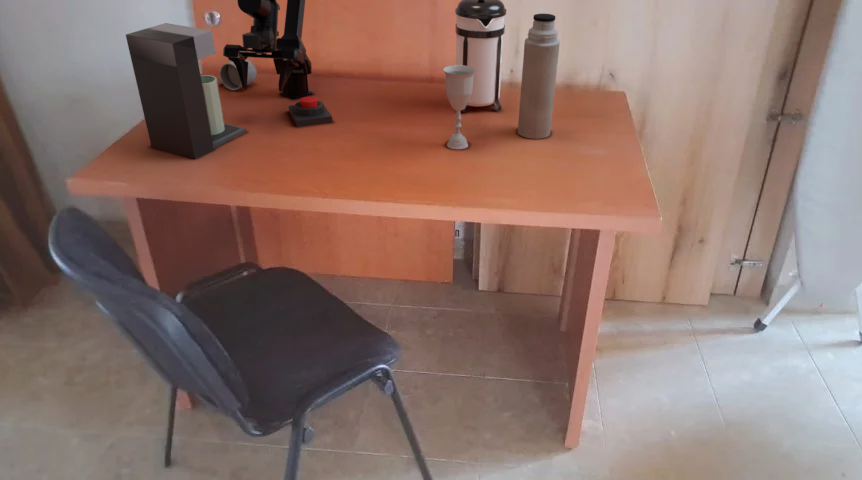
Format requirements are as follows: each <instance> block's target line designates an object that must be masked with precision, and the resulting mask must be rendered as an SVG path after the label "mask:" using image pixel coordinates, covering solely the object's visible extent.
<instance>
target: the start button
mask: <svg viewBox="0 0 862 480" xmlns="http://www.w3.org/2000/svg"><path fill="white" fill-rule="evenodd" d="M317 100H318V98H317V97H316V96H312V95H311V96H310V95H307V96H304V97H301V98H299V102H300V106H301V107H303V108H314V107H317V106H318V101H319V100H318V101H317Z"/></svg>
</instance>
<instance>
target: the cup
mask: <svg viewBox="0 0 862 480" xmlns="http://www.w3.org/2000/svg"><path fill="white" fill-rule="evenodd" d="M200 75H201V74H200ZM201 81H202V87H203V92H204V98H205V103H206V109H207V115H208V120H209V126H210V132H211V135H216V134H219V133H221V132H223V131H224V130H225V125H224V123H225V119H224V113H223V107H222V102H221V95H220V89H219V83H218V82H219V81H218V77H216V76H215V75H211V74H210V75H209V74H202V75H201Z"/></svg>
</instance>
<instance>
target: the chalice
mask: <svg viewBox="0 0 862 480" xmlns="http://www.w3.org/2000/svg"><path fill="white" fill-rule="evenodd" d="M442 71H443V72H444V74H445V81H444V83H445V85H444V86H445V87H444V91H445V94H446V98H447V100H448V102H449V104H450V106H451V108H452V110H454V111H455V113H456V114H455V117H454V119H455V124H454V125H453V127H455V133H453V134H452V135H451V136H450V137H449V139H448V141H447V143H446V147H448V148H449V149H452V150H464V149H467V148H468V147H469V143H468V140H467V138H466V135H464V134H463V133H461V128H462V127H463V125H462V124H461V120H462V119H463V117H462V115H461V113H462V112H461V110H463V109H465V107H466V105H467V103H468V101H469V100H470V97H471V94H472V92H473V75H474V73H475V71H476V69H475V68H473V67H470V66H464V65H456V64H454V65H447V66H445V67H444V68H443V70H442Z"/></svg>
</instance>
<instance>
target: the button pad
mask: <svg viewBox="0 0 862 480" xmlns="http://www.w3.org/2000/svg"><path fill="white" fill-rule="evenodd" d="M317 101H318V106H317V107H314V108H303V107H301V106H300V101H297V102H296V103H295V104H294V105H288V113H289V115H290V117H291V119H292V121H293V123H294V124H295V126H296V128H301V127H307V126H316V125H323V124H330V123H331V124H332V123H333V115H332V114H331V112H330V111H329V109H328V108H327V107H326V105H325V103H324V102H323V101H321V100H318V99H317Z"/></svg>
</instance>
